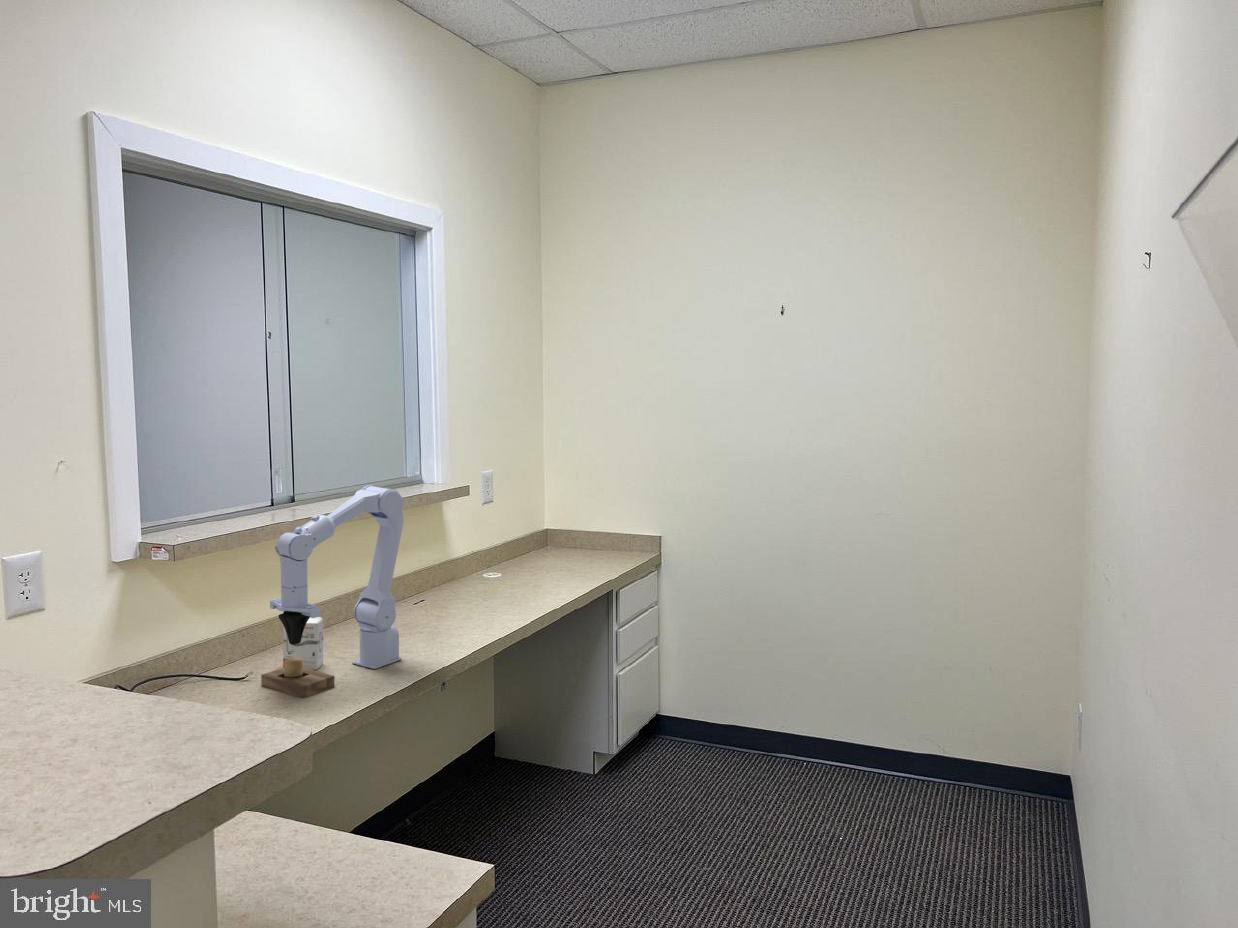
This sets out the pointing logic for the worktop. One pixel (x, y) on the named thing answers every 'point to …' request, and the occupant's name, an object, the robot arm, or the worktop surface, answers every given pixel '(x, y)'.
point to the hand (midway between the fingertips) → (295, 643)
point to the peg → (293, 668)
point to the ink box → (307, 645)
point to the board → (298, 682)
